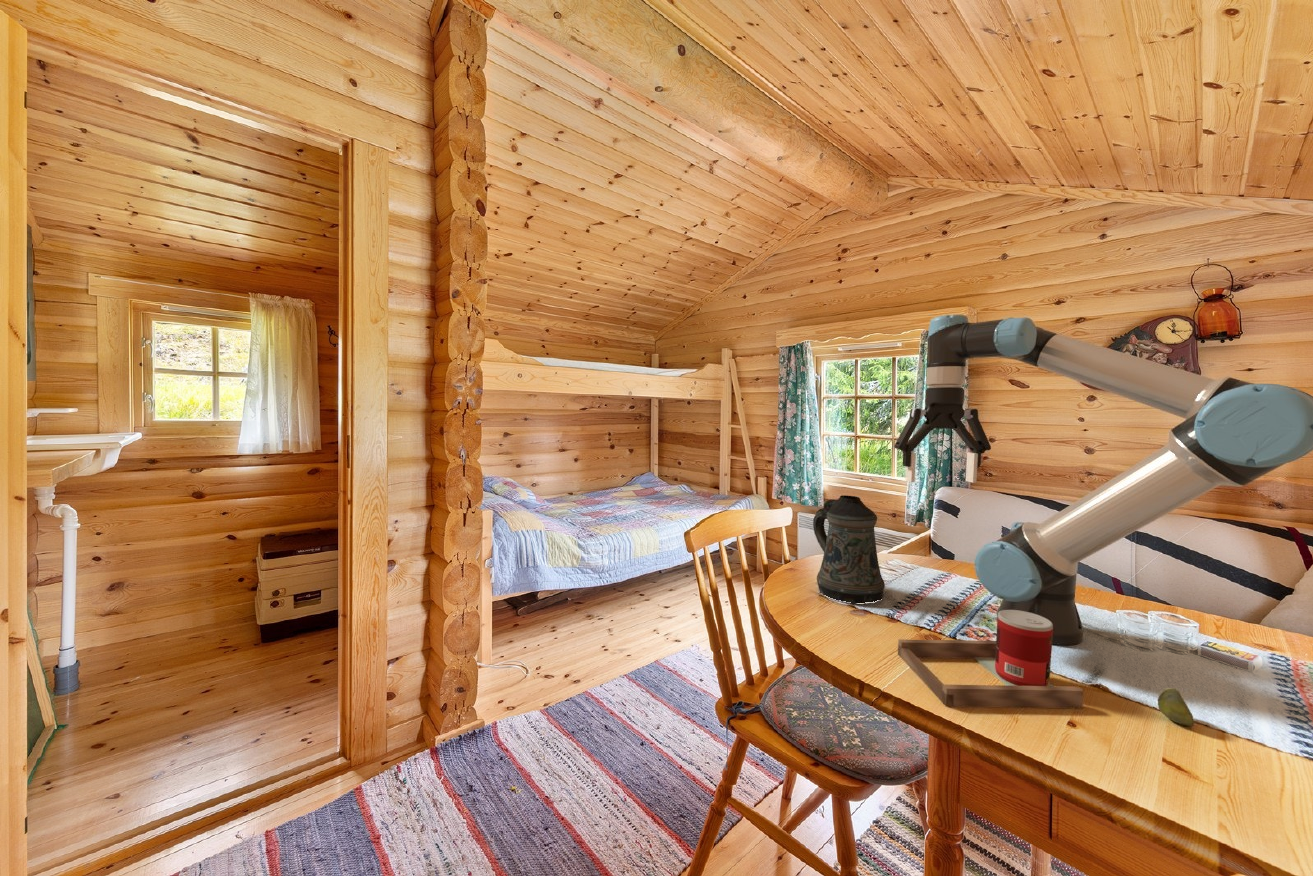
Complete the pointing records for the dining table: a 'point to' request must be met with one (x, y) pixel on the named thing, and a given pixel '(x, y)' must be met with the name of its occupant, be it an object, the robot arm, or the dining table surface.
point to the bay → (982, 693)
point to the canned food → (1023, 648)
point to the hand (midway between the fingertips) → (940, 481)
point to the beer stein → (848, 551)
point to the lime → (1175, 707)
